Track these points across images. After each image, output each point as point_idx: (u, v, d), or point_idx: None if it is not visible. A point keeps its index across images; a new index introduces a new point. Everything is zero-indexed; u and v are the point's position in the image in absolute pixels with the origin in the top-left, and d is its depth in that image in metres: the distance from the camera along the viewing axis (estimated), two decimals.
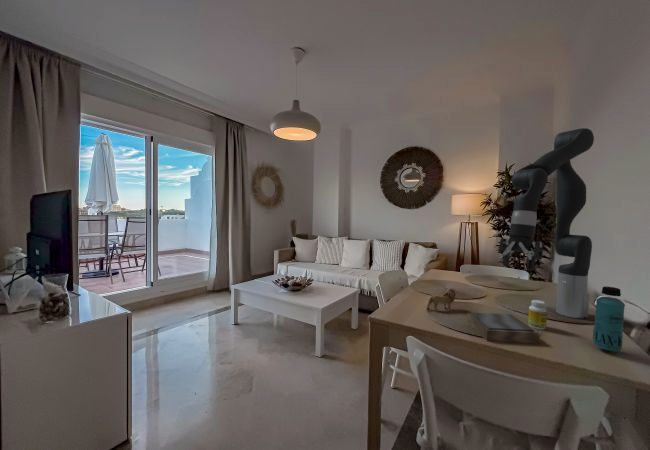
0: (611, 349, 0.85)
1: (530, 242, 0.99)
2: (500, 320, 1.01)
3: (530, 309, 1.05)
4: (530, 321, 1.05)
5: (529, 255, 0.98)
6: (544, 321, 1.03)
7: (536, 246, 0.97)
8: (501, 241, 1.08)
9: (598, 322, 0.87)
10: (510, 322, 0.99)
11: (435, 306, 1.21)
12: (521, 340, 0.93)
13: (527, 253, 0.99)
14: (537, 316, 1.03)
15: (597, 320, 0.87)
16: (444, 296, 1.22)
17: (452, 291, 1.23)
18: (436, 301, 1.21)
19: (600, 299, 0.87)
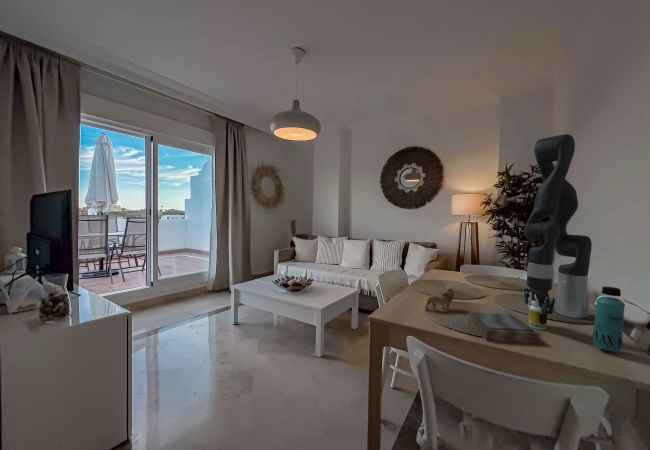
0: (611, 349, 0.85)
1: (543, 296, 1.01)
2: (500, 320, 1.01)
3: (530, 309, 1.05)
4: (530, 321, 1.05)
5: (540, 309, 1.02)
6: None
7: (545, 302, 0.99)
8: (525, 291, 1.11)
9: (598, 322, 0.87)
10: (510, 322, 0.99)
11: (433, 306, 1.20)
12: (521, 340, 0.93)
13: (539, 306, 1.02)
14: (537, 316, 1.03)
15: (597, 320, 0.87)
16: (442, 296, 1.21)
17: (450, 291, 1.22)
18: (434, 301, 1.20)
19: (600, 299, 0.87)
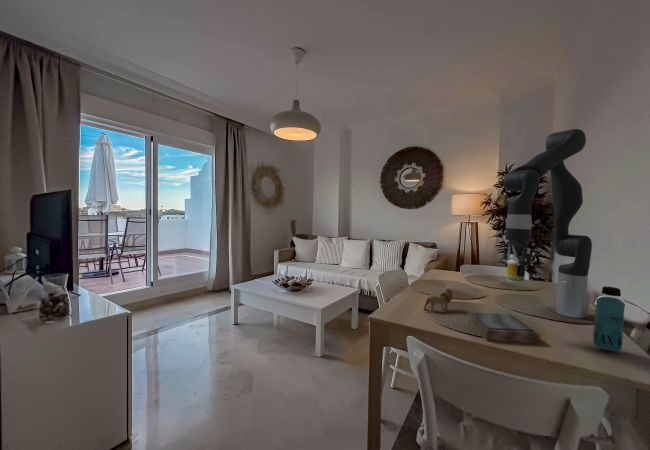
0: (611, 349, 0.85)
1: (521, 247, 0.97)
2: (500, 320, 1.01)
3: (508, 263, 1.01)
4: (508, 275, 1.01)
5: (518, 261, 0.98)
6: None
7: (523, 252, 0.95)
8: (504, 247, 1.07)
9: (598, 322, 0.87)
10: (510, 322, 0.99)
11: (432, 306, 1.20)
12: (521, 340, 0.93)
13: (517, 258, 0.98)
14: (515, 268, 0.99)
15: (597, 320, 0.87)
16: (441, 296, 1.21)
17: (449, 291, 1.22)
18: (433, 301, 1.20)
19: (600, 299, 0.87)
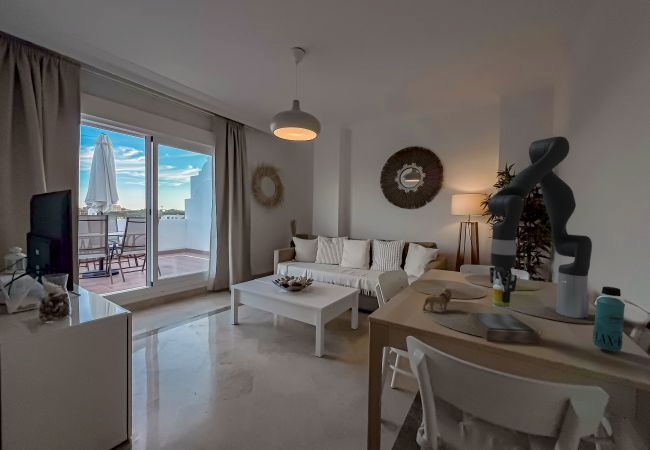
0: (611, 349, 0.85)
1: (505, 273, 0.96)
2: (500, 320, 1.01)
3: (494, 288, 1.00)
4: (494, 300, 1.00)
5: (503, 287, 0.97)
6: None
7: (507, 279, 0.94)
8: (490, 270, 1.06)
9: (598, 322, 0.87)
10: (510, 322, 0.99)
11: (431, 306, 1.20)
12: (521, 340, 0.93)
13: (502, 284, 0.97)
14: (500, 294, 0.98)
15: (597, 320, 0.87)
16: (440, 297, 1.21)
17: (448, 291, 1.22)
18: (432, 301, 1.20)
19: (600, 299, 0.87)
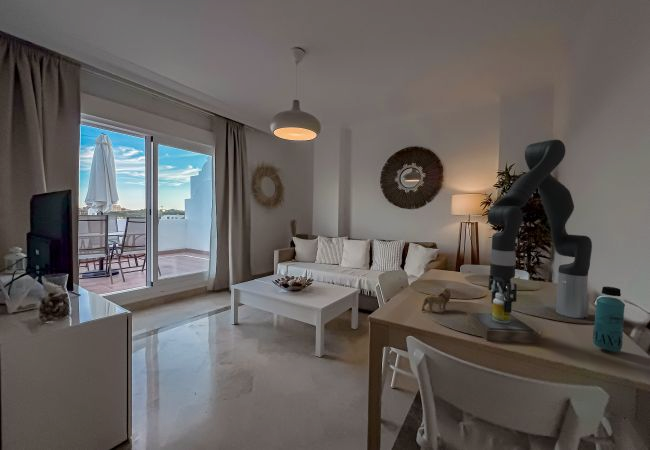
0: (611, 349, 0.85)
1: (505, 283, 0.96)
2: None
3: (494, 302, 1.01)
4: (493, 314, 1.01)
5: (504, 296, 0.96)
6: (507, 315, 0.98)
7: (507, 288, 0.94)
8: (489, 278, 1.07)
9: (598, 322, 0.87)
10: (510, 322, 0.99)
11: (430, 307, 1.20)
12: (521, 340, 0.93)
13: (502, 294, 0.97)
14: (500, 309, 0.98)
15: (597, 320, 0.87)
16: (439, 297, 1.21)
17: (447, 291, 1.22)
18: (431, 302, 1.20)
19: (600, 299, 0.87)
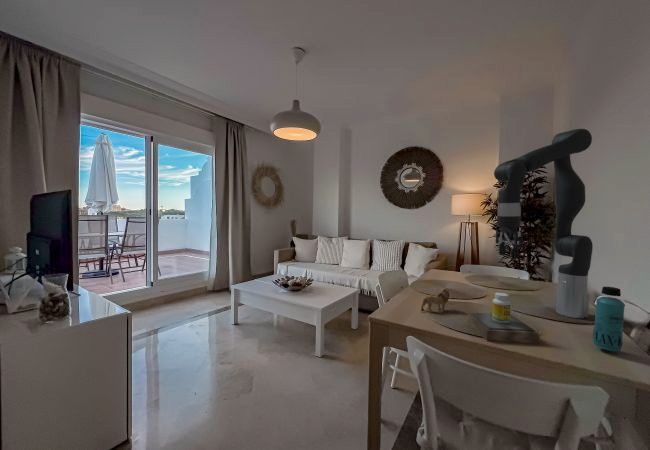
0: (611, 349, 0.85)
1: (512, 232, 1.05)
2: None
3: (493, 302, 1.01)
4: (493, 315, 1.01)
5: (511, 244, 1.05)
6: (507, 315, 0.98)
7: (514, 236, 1.03)
8: (496, 232, 1.16)
9: (598, 322, 0.87)
10: (510, 322, 0.99)
11: (429, 307, 1.20)
12: (521, 340, 0.93)
13: (510, 243, 1.06)
14: (499, 309, 0.98)
15: (597, 320, 0.87)
16: (438, 297, 1.21)
17: (446, 291, 1.22)
18: (430, 302, 1.20)
19: (600, 299, 0.87)
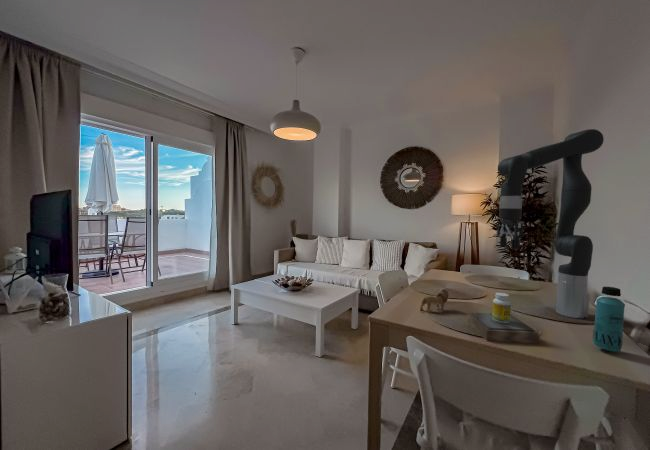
0: (611, 349, 0.85)
1: (512, 224, 1.10)
2: None
3: (494, 302, 1.01)
4: (493, 314, 1.01)
5: (512, 235, 1.10)
6: (507, 315, 0.98)
7: (515, 227, 1.08)
8: (498, 224, 1.20)
9: (598, 322, 0.87)
10: (510, 322, 0.99)
11: (428, 307, 1.20)
12: (521, 340, 0.93)
13: (510, 234, 1.10)
14: (500, 309, 0.98)
15: (597, 320, 0.87)
16: (437, 297, 1.21)
17: (445, 291, 1.22)
18: (429, 302, 1.19)
19: (600, 299, 0.87)
